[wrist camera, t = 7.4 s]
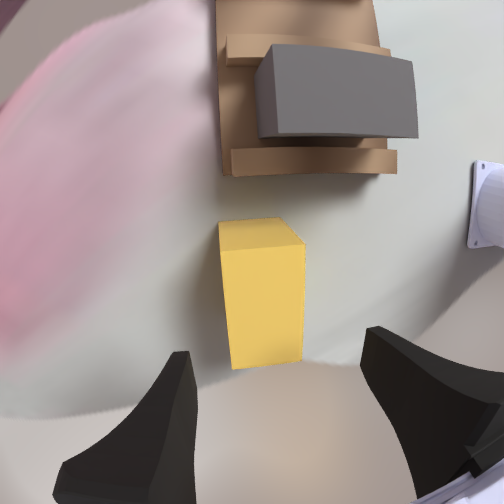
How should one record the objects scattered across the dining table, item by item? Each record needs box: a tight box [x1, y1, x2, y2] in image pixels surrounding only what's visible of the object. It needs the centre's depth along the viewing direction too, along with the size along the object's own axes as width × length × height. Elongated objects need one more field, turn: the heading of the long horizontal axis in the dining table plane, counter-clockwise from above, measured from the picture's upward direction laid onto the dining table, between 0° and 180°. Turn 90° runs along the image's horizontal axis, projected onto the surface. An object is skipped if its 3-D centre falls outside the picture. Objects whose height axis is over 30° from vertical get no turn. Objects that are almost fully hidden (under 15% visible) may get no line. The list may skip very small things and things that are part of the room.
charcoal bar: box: [254, 44, 418, 139], centre depth 14 cm, size 7×4×6 cm, turn 94°
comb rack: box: [215, 0, 397, 177], centre depth 15 cm, size 11×15×3 cm
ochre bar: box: [218, 217, 306, 369], centre depth 18 cm, size 7×4×6 cm, turn 3°
